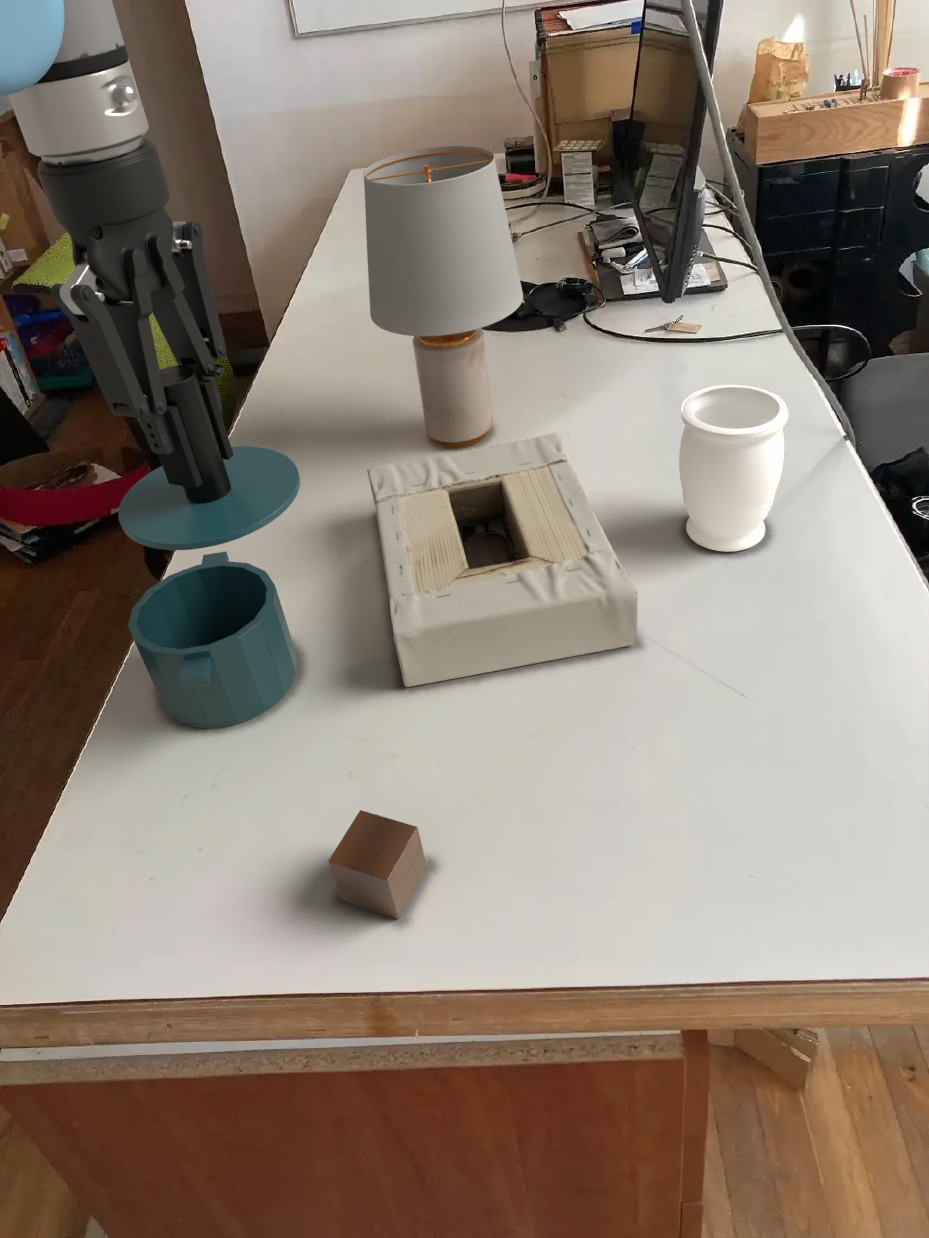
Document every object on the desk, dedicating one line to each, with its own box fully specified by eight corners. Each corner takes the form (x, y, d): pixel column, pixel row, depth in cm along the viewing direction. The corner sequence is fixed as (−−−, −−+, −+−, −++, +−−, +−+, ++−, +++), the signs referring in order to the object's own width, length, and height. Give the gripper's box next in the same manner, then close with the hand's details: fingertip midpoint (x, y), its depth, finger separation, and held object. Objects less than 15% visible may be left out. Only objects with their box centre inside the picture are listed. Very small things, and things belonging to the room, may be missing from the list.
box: (642, 647, 90) (560, 479, 114) (642, 584, 85) (556, 423, 109) (406, 698, 88) (374, 517, 113) (392, 637, 83) (361, 462, 108)
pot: (147, 759, 85) (111, 685, 79) (175, 628, 100) (146, 557, 94) (294, 736, 85) (268, 660, 79) (300, 609, 100) (279, 536, 94)
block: (341, 899, 71) (327, 861, 68) (371, 848, 75) (360, 809, 72) (398, 919, 70) (387, 880, 66) (427, 866, 73) (417, 826, 70)
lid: (108, 570, 70) (49, 438, 63) (137, 473, 81) (90, 351, 74) (300, 539, 70) (263, 404, 63) (303, 446, 81) (272, 323, 74)
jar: (659, 519, 105) (662, 398, 96) (741, 495, 107) (751, 374, 98) (707, 569, 97) (715, 443, 88) (794, 543, 99) (811, 416, 90)
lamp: (545, 455, 119) (527, 172, 97) (399, 480, 118) (349, 201, 97) (518, 391, 134) (497, 133, 112) (388, 413, 133) (342, 157, 111)
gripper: (46, 188, 52) (176, 534, 66) (217, 113, 63) (296, 423, 78) (-50, 188, 54) (96, 521, 69) (130, 116, 66) (222, 415, 81)
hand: (201, 468), depth 73 cm, fingers closed on lid, 4 cm apart
